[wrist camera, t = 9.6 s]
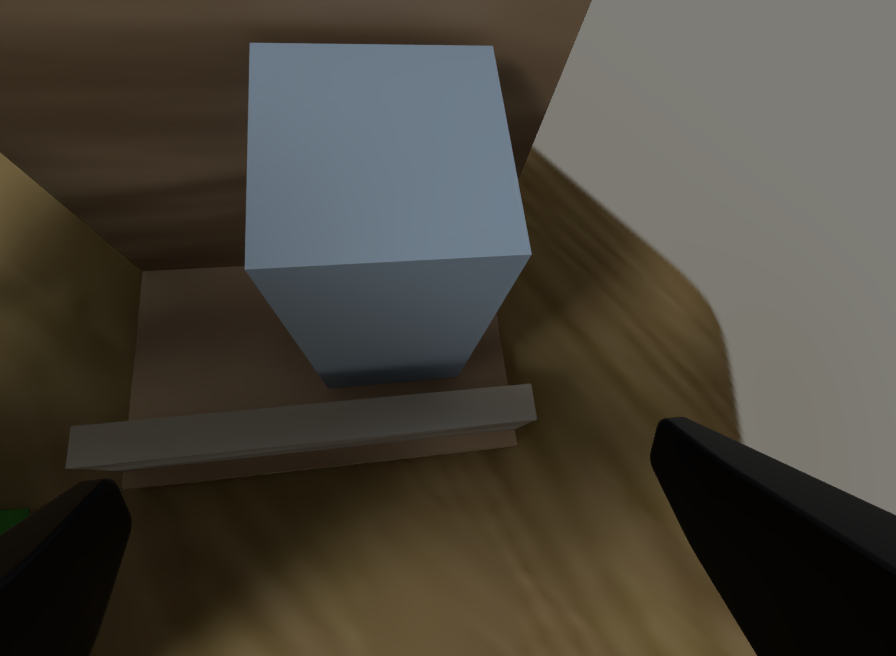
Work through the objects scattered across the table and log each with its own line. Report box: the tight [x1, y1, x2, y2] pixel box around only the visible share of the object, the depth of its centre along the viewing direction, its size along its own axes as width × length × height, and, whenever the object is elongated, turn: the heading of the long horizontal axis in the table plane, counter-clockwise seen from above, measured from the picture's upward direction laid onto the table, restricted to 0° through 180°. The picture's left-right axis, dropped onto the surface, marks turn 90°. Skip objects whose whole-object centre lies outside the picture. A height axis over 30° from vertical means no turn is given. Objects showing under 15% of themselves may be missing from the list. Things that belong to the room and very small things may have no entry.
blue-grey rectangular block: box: [245, 43, 532, 389], centre depth 14 cm, size 5×5×10 cm
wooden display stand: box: [0, 0, 592, 489], centre depth 13 cm, size 10×14×13 cm
